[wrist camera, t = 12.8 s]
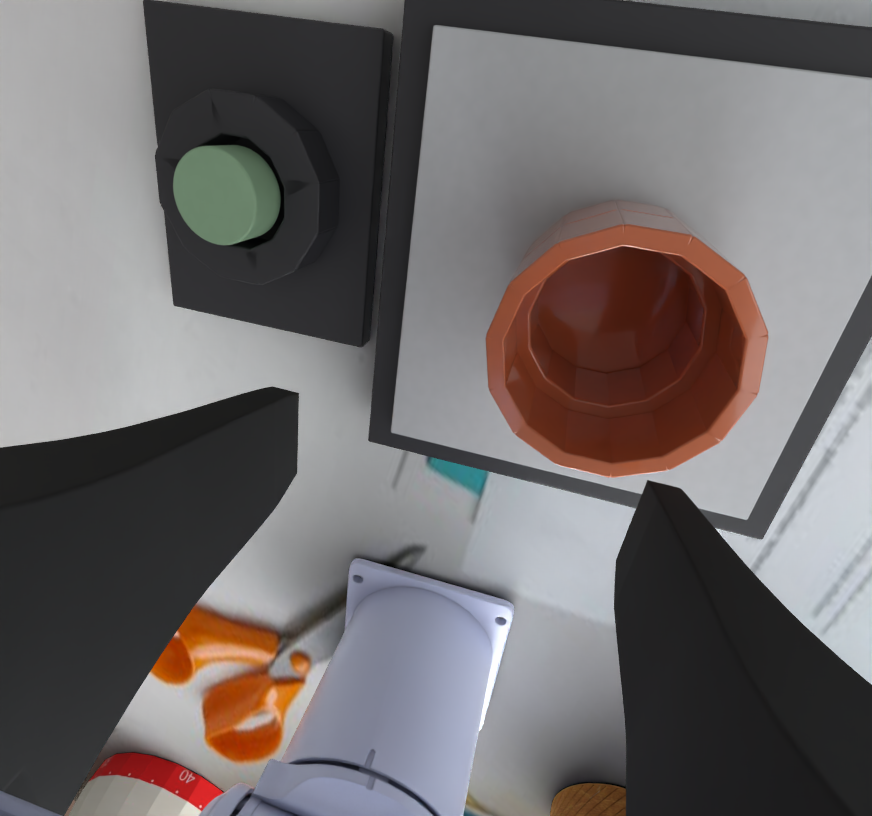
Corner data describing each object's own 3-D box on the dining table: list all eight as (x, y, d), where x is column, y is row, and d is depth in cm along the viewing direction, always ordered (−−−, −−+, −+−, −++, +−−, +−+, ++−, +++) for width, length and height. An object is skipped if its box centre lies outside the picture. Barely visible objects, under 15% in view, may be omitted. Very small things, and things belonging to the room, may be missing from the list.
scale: (745, 499, 20) (767, 552, 18) (388, 413, 23) (361, 450, 20) (964, 57, 14) (1050, 39, 11) (429, -4, 16) (398, -31, 13)
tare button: (281, 244, 18) (257, 253, 17) (206, 229, 19) (176, 237, 17) (281, 152, 17) (254, 154, 16) (200, 138, 17) (167, 138, 16)
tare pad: (370, 340, 21) (345, 364, 19) (187, 300, 23) (144, 317, 20) (394, 33, 17) (364, 18, 14) (161, 4, 18) (101, -14, 16)
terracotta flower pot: (678, 405, 16) (709, 502, 12) (497, 366, 17) (466, 444, 13) (749, 218, 14) (821, 257, 10) (533, 183, 15) (509, 204, 10)
